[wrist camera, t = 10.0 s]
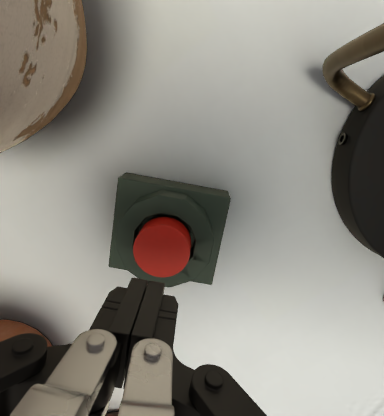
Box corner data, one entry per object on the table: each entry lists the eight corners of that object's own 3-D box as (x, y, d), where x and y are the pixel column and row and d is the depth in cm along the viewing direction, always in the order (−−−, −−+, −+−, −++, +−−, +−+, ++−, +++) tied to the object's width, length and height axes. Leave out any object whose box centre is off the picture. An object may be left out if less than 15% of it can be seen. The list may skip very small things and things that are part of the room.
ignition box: (228, 191, 23) (233, 204, 19) (210, 271, 25) (212, 298, 21) (125, 172, 22) (110, 182, 19) (116, 254, 24) (100, 278, 21)
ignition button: (195, 221, 20) (194, 230, 18) (186, 269, 21) (184, 282, 19) (142, 211, 19) (136, 220, 18) (135, 260, 20) (129, 272, 19)
